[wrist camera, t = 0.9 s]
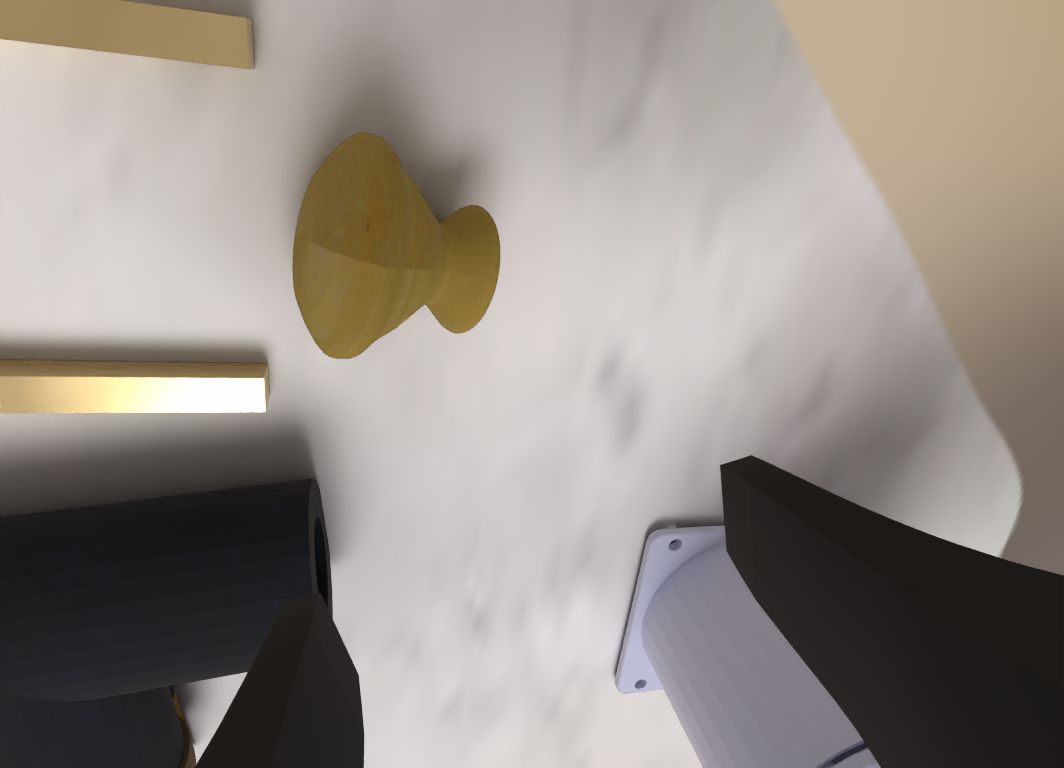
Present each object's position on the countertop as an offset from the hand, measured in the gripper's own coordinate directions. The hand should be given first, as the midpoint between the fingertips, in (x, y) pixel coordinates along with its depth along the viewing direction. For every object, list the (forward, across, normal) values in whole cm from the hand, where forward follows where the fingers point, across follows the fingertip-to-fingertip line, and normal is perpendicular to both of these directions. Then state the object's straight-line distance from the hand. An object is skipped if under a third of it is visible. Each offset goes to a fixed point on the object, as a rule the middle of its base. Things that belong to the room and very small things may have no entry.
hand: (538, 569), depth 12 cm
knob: (+10, +1, -4) cm, 11 cm away
